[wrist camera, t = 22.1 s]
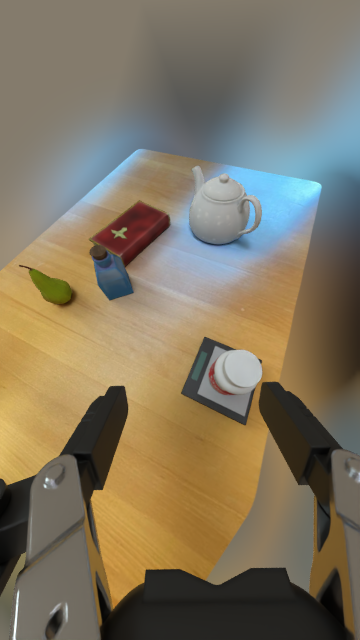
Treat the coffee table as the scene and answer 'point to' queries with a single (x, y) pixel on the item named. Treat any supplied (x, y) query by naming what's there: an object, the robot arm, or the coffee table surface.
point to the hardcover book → (132, 231)
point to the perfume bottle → (110, 273)
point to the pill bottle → (235, 372)
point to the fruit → (50, 287)
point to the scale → (205, 394)
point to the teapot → (221, 209)
